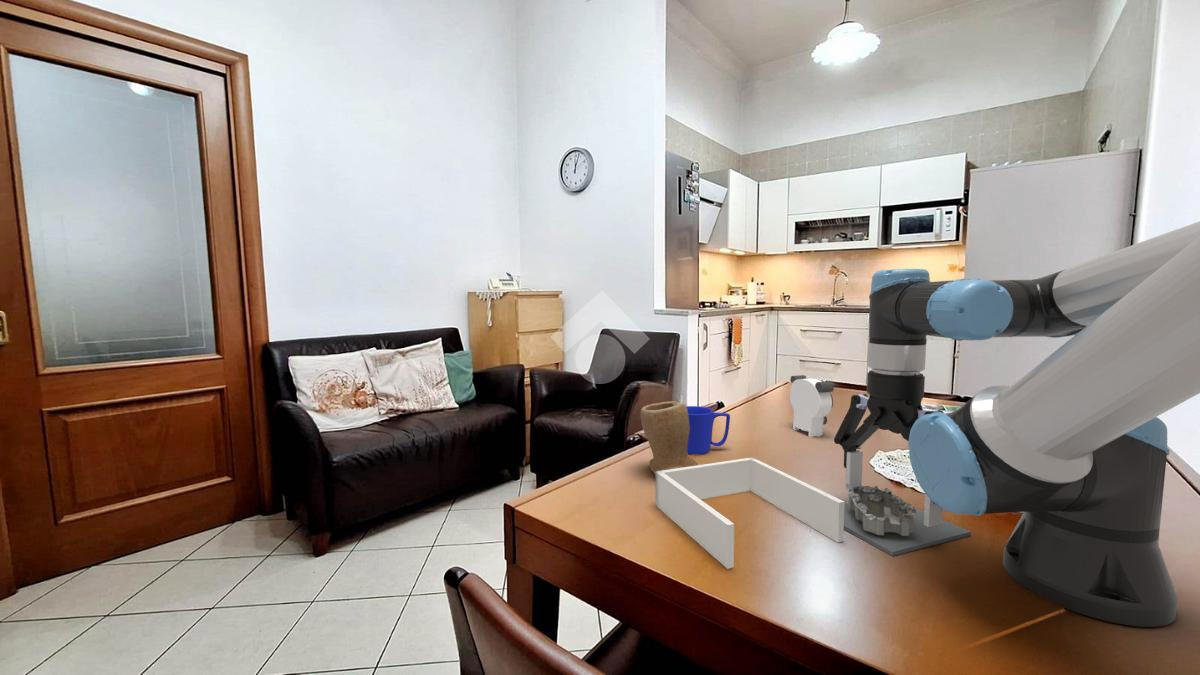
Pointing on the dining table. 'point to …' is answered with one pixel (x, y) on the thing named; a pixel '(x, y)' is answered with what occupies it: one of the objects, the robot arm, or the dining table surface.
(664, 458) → the stone cup
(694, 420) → the mug
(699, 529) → the white open frame
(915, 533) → the mat
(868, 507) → the grey castle ring
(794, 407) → the panda figurine
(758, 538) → the dining table surface
